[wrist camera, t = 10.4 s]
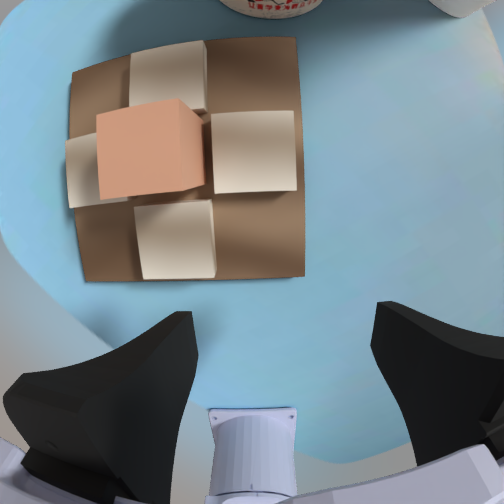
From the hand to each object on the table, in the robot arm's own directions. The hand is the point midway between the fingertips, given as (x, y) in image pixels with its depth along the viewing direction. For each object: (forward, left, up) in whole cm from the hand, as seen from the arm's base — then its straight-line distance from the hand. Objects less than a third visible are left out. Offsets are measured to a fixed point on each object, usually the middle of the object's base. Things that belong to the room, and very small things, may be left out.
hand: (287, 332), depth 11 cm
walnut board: (+7, +6, -9) cm, 13 cm away
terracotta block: (+7, +6, -8) cm, 13 cm away
